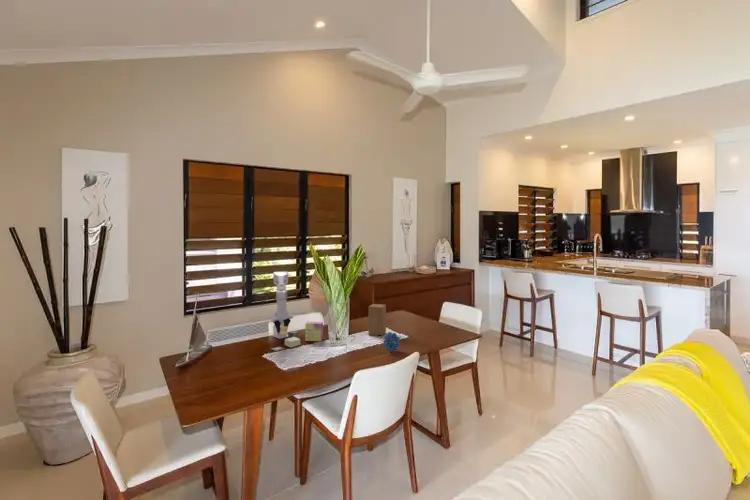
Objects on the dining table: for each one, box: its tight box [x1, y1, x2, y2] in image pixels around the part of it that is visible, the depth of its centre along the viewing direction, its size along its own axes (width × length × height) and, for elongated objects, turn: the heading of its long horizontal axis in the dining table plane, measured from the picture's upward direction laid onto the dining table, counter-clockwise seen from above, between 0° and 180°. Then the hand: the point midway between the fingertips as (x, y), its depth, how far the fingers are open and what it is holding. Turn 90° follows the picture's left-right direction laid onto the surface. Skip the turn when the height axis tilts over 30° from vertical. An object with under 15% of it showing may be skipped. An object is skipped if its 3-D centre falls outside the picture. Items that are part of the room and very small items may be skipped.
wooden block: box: [367, 303, 387, 336], centre depth 262 cm, size 10×10×20 cm
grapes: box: [382, 331, 401, 353], centre depth 223 cm, size 12×7×12 cm, turn 121°
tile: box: [270, 346, 286, 352], centre depth 228 cm, size 6×6×1 cm
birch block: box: [277, 325, 288, 336], centre depth 235 cm, size 4×4×5 cm
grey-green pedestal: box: [284, 337, 301, 348], centre depth 237 cm, size 7×7×4 cm
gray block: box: [287, 330, 299, 339], centre depth 248 cm, size 4×4×5 cm
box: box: [304, 320, 324, 342], centre depth 247 cm, size 10×6×12 cm, turn 84°
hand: (282, 331), depth 235 cm, fingers closed on birch block, 4 cm apart
